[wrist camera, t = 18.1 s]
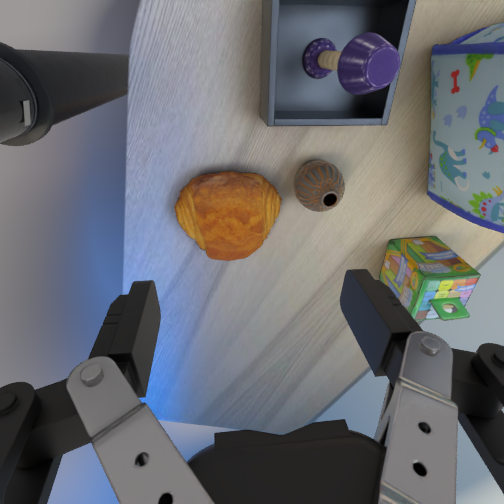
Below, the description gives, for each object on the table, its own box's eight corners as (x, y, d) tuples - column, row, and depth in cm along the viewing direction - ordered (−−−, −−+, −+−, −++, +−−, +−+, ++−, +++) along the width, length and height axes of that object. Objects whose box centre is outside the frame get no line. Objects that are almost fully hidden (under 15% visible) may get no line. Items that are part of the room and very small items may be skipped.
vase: (296, 205, 48) (311, 231, 41) (284, 165, 45) (298, 186, 37) (337, 189, 48) (360, 213, 40) (329, 147, 44) (352, 165, 37)
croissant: (178, 160, 45) (163, 176, 38) (283, 167, 45) (287, 184, 38) (184, 245, 52) (172, 271, 45) (274, 250, 52) (276, 278, 45)
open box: (259, 116, 41) (267, 126, 35) (262, -5, 34) (272, -18, 28) (363, 116, 42) (387, 125, 36) (385, -1, 35) (419, -13, 30)
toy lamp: (345, 64, 38) (422, 68, 24) (315, 92, 39) (372, 112, 25) (323, 28, 35) (395, 9, 22) (292, 60, 37) (341, 61, 23)
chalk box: (436, 235, 55) (501, 287, 42) (421, 275, 60) (476, 332, 47) (387, 238, 54) (439, 292, 42) (376, 279, 59) (420, 338, 47)
